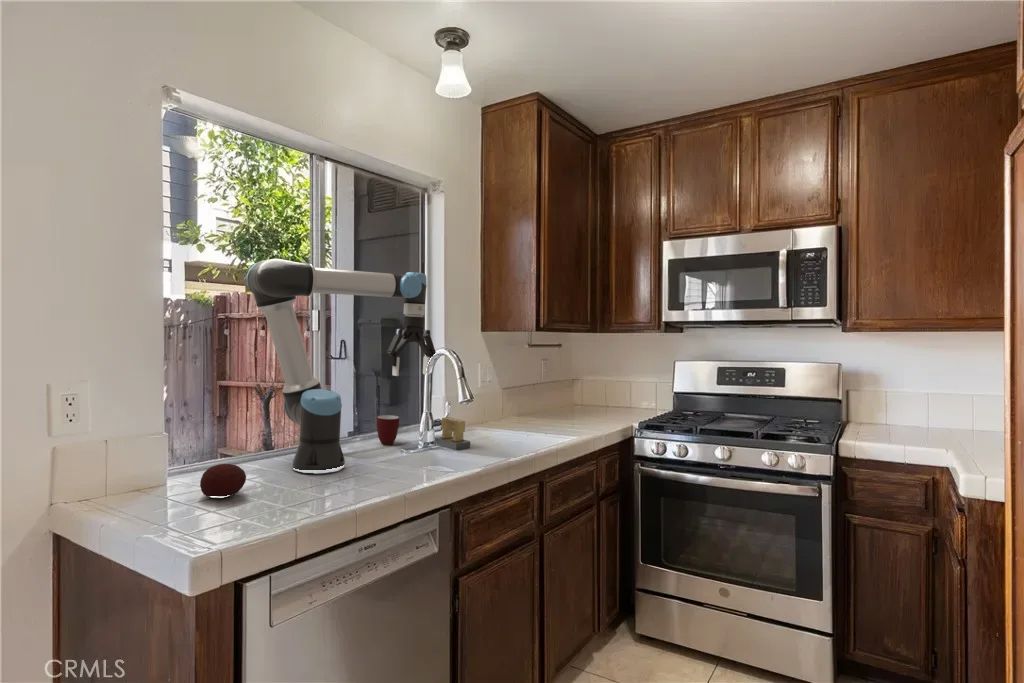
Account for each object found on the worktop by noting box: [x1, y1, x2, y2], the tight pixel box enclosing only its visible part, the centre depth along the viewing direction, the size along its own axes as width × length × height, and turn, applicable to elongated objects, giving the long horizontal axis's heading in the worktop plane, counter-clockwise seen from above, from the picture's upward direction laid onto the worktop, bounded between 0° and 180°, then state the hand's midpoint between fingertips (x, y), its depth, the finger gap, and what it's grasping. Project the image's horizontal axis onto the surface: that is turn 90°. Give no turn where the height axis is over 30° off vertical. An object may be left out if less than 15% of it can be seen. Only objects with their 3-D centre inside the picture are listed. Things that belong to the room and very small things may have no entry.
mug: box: [376, 414, 400, 446], centre depth 214 cm, size 11×8×10 cm
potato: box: [199, 463, 247, 497], centre depth 147 cm, size 12×11×8 cm
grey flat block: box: [434, 435, 471, 451], centre depth 216 cm, size 7×12×2 cm, turn 48°
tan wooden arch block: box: [440, 416, 466, 442], centre depth 216 cm, size 4×9×10 cm, turn 48°
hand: (410, 375), depth 208 cm, fingers open, 13 cm apart
